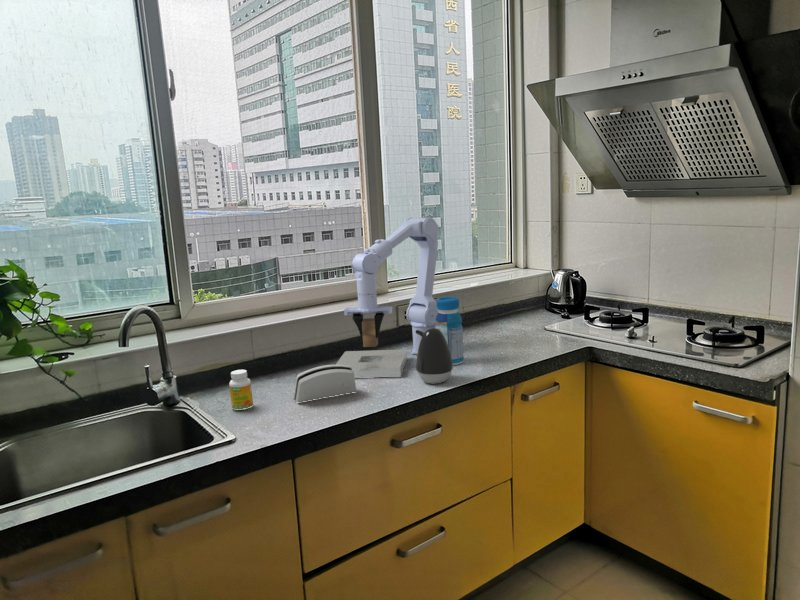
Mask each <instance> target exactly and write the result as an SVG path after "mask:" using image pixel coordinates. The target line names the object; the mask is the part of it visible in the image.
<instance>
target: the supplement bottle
mask: <svg viewBox="0 0 800 600" xmlns="http://www.w3.org/2000/svg"><path fill="white" fill-rule="evenodd" d="M247 371H248V370H246V369H237V370H233V371H231V372H230V377H231V379H230V381H229V383H228V384H229V392H230V401H231V403H230V404H231V409H232V408H234V409H243V408H248V407H250V406H252V405H253V406H254V400H253V399H254V398H253V391H252V382H251V379H250V377H249V378H248V372H247Z"/></svg>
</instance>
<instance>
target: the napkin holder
mask: <svg viewBox="0 0 800 600" xmlns="http://www.w3.org/2000/svg"><path fill="white" fill-rule="evenodd" d="M352 392H356V393H357V385H356V379H355V375H354V372H353V371H352V368H351V367H350V366H348V365H338V364H336V363H335V364H326V365H320V366H317V367H316V366H315V367H313V368H310V369H307V370H304V371H302V372H300V373H298V374H297V376H296V379H295V387H294V392H293V400H295V401H296V402H303V401H308V400H313V399H319V398H323V397H329V396H335V395H340V394H346V393H352ZM296 402H295V403H296Z"/></svg>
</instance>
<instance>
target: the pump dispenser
mask: <svg viewBox="0 0 800 600" xmlns="http://www.w3.org/2000/svg"><path fill="white" fill-rule="evenodd" d="M416 333H417V334H418V335H420V336H421V337H422V338H421V341H420V344H419V348H418V352H417V354H416V361H415V362H416V363H415V368H416V371H417V374H418V376H419V378H420V379H421V380H422V381H423V382H425V383H427V384H429V383H439V384H442V382H443V383H444V382H446V381H448V379H449V378H450V377H451V375H452V371H453V369H454V365H453V363H452V357H451V353H450V349H449V346H448V344H447V341H446V339H445V337H444V335H443V334H442V332H441V331H440V330H438V329H436V328H430V329H428V330H426V331H425V333H424V332H422V331H419V330H416Z"/></svg>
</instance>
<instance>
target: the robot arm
mask: <svg viewBox="0 0 800 600" xmlns="http://www.w3.org/2000/svg"><path fill="white" fill-rule="evenodd" d="M438 232H439V224H438V223H437V222H436V220H435V219H434V218H433V217H430V216H427V217H408V218H407V219H406V220H404V221H402V222H401V225H400V226H399V227H398V228H397V229H395V231H393V233H392V234H390V235H389V236H388V237H387V238H386V239H383V238H382V239H381V238H380V239H376V240H375V241H374V244H372V245H371V246H370V247H369V248H365V249H364V250H363V253H357V254H356V255H355V256H354V257H353V258H352V261H351V263H350V264H351V265H350V266H351V269H352V271H353V273H354V277H355V278H356V289H357V290H356V291H357V304H358V306H355V307H345V308H344V309H343V314H344V316H352V320H353V322H354V323H355V325H356V327H357V329H358V332H359V335H360V339H363V335H362V320H363V319H364V315H374V316H373V318H374V319H375V326H376V338H378V339H379V337H380V330H381V325H382V322H383V320H384V319H383V318H384V316H385V314H389V315H390V314H391V315H392V314H393V306H391V305H389V306H386V305H385V306H384V305H378V293H377V282H376V279H377V278H376V272H377V271H378V269H379V267H380V264H381V263H383V262H384V261H385V260H387V258H389V257H390V256H391V255H392V253H393V249H394V248H396V247H397V246H398V245H400V244H401V243H403V242H404V241H406V240H407V239H408V238H410V239H411V240H413V241H414V242H415V243H416V244H417V245H418V246H419V248H420V253H419V260H418V271H417V279H416V287H415V288H416V290H415V295H414V296H413V297H412V298H411V299H410V300H409V305H408V308H406V319H407V321H408V322H409V323H410V326H411V328H412V329H411V331H412V344H413V345H412V349H411V355H417V352H418V348H419V344H420V341H421V338H422V337H421V336H420V335H418V334H417V333H416V330H419V331H422V332H424V333H425V331H426V330H428V329H430V328H436V323H435V319H436V316H437V314H438V313H439V310H437V300H436V299H434V297H433V292H434V284H435V283H434V282H435V273H436V267H437V266H436V264H437V255H438V246H439V241H438Z"/></svg>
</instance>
